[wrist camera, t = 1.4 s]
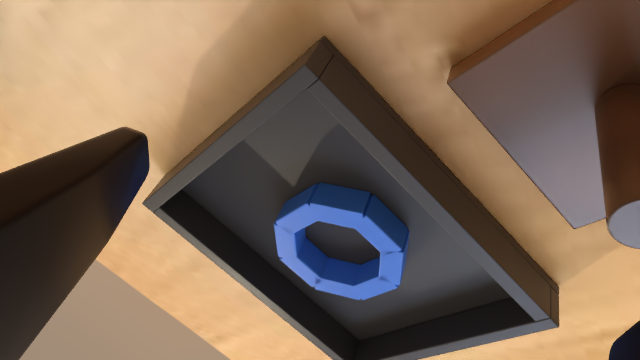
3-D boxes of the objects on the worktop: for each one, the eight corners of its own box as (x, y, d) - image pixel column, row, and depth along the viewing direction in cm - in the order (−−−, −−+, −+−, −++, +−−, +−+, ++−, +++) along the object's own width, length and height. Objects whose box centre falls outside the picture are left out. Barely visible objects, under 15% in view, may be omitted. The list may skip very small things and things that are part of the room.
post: (825, 117, 18) (934, 278, 13) (572, 211, 24) (579, 348, 19) (699, -97, 15) (773, 0, 10) (450, 68, 21) (418, 182, 16)
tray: (559, 287, 27) (559, 327, 25) (361, 343, 36) (351, 375, 35) (324, 35, 22) (304, 63, 20) (164, 175, 31) (141, 203, 30)
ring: (435, 253, 28) (430, 276, 27) (344, 288, 32) (337, 309, 31) (345, 164, 26) (335, 185, 24) (262, 215, 30) (250, 235, 29)
